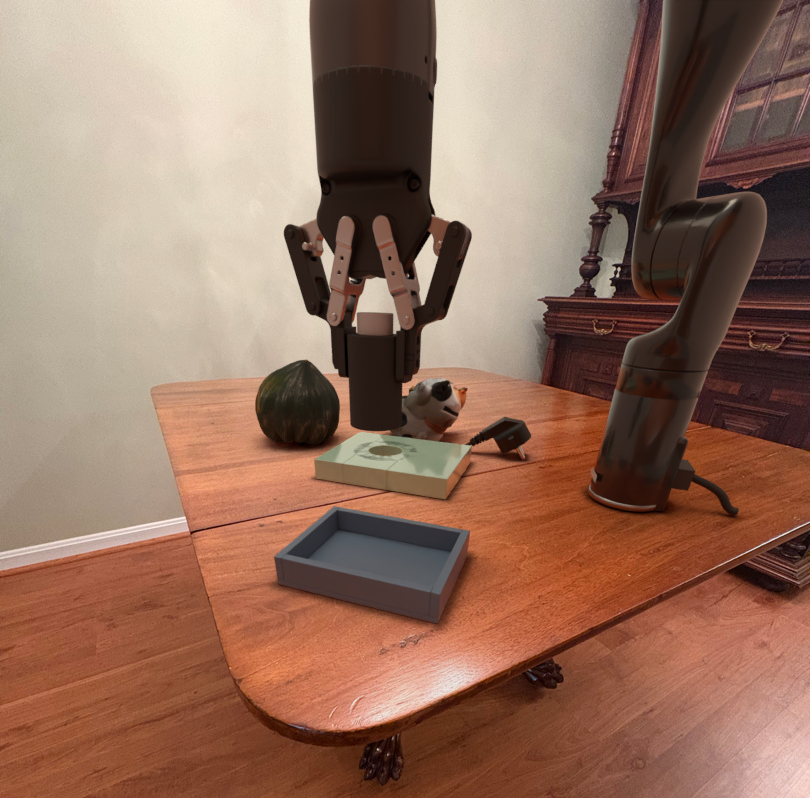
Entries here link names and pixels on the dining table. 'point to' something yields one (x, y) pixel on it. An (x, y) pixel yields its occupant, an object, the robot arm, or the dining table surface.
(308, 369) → the squash
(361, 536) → the blue-grey tray
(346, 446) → the drain board
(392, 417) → the dark brown bottle
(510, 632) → the dining table surface
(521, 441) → the power plug
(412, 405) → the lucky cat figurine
